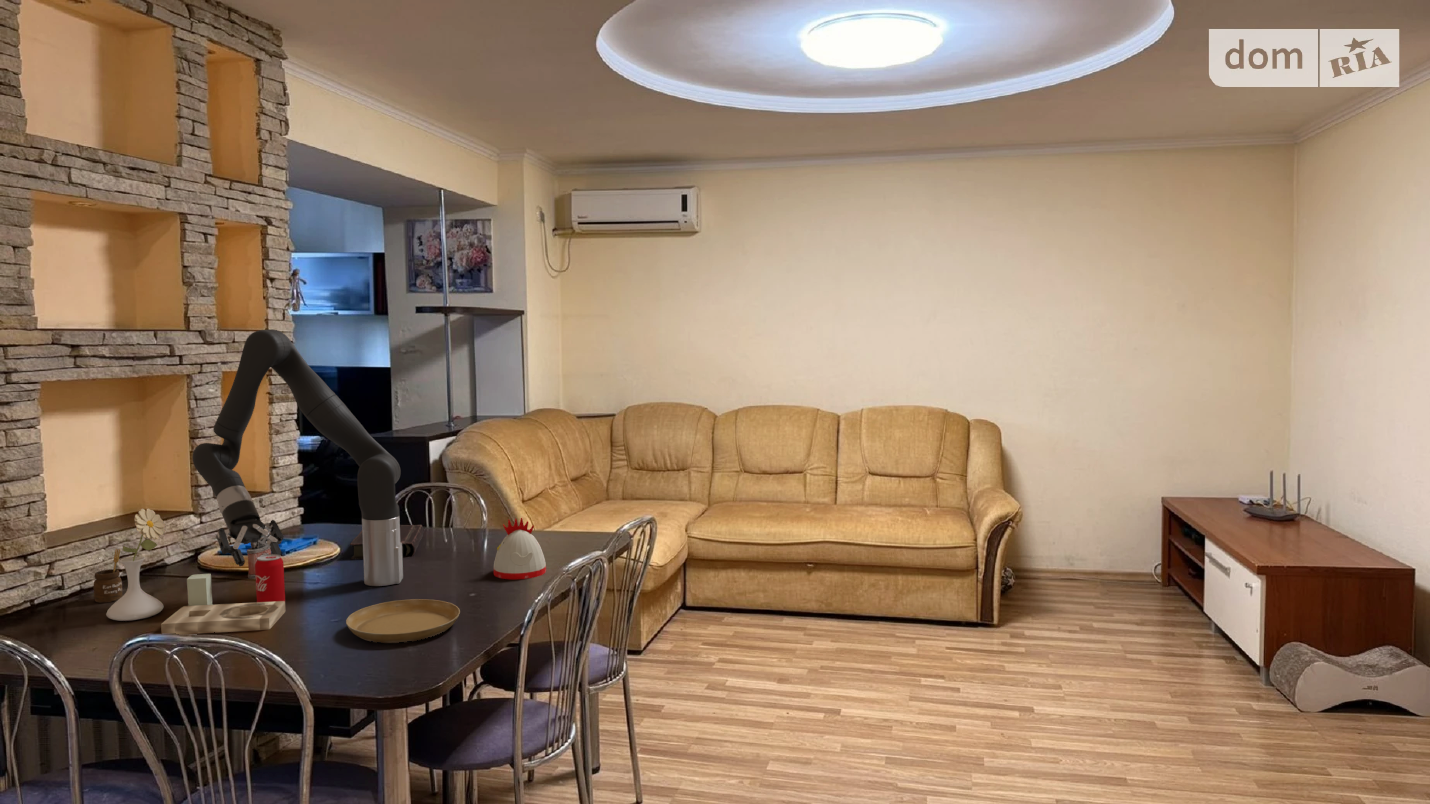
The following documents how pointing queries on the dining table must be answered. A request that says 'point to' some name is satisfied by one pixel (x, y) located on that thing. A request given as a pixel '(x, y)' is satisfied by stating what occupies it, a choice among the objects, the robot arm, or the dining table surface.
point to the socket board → (224, 618)
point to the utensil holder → (108, 583)
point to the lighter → (256, 556)
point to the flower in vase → (135, 599)
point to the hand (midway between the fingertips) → (260, 561)
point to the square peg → (199, 590)
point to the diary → (408, 538)
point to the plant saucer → (403, 620)
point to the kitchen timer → (519, 554)
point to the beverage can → (270, 578)
